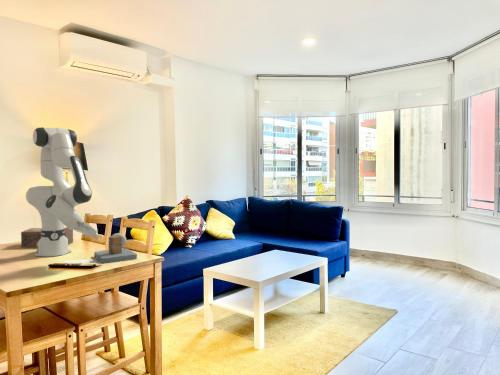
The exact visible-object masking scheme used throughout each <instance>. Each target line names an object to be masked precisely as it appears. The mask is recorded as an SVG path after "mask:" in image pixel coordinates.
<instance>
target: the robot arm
mask: <svg viewBox="0 0 500 375" xmlns="http://www.w3.org/2000/svg"><path fill="white" fill-rule="evenodd" d="M77 136H78V135H77V133H76V132H75V131H74V130H72V129H70V128H69V129H67V128H61V127H44V126H42V127H36V128H35V129H34V130H33V133H32V140H33V143H34V144H35V146H37V147H39V148H40V147H41V150H40V175H41V177H42V178H44V179H46V180H48V181H51V182H52V184H53V185H38V186H32V187H29V188H28V189H27V191H26V194H25V200H26V202H27V203H28V204H29V205H30V206H32V207H33V208H35V209H36V210H37V212H38V213H39V216H40V221H41V228H42V230H41V236H42V237H41V239H40V240H39V242H38V243H37V247H36V248H37V250H36V251H35V253H34V257H57V256H63V255H66V254H69V253H72V249H69V245H68V239H67V238H66V237H65V236H64V235H65V230H64V228H69V229H70V230H72V229H73V231H76V232H78V233H81V234H83V235H85V236H86V237H92V238H93V239H94V240H98V239H99V236H98V235H97V233H98V231H97V230H96V229H95V228H94V227H93V226H91V225H90V224H89V223H88V222H85V220H84V216H83V215H82V214H81V213H80V212H79V211H78V210H76V209H75V207H76V206H79V205H81V204H85V203H88V202H89V201H91V200H92V195H93V191H92V188H91V187H90V184H89V182H88V180H87V176H86V173H85V170H84V167H83V163H82V161H81V159H80V158H79V157H78V156H76V155H75V150H74V147H75V146H76V145H77V141H78V137H77ZM63 169H70V170H71V173H72V177H73V181H74V184H73V186H72V185H71V184H70V183H69V182H68V181H67V179H65V178H66V177H65V175H64V170H63ZM64 226H65V227H64Z"/></svg>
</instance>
